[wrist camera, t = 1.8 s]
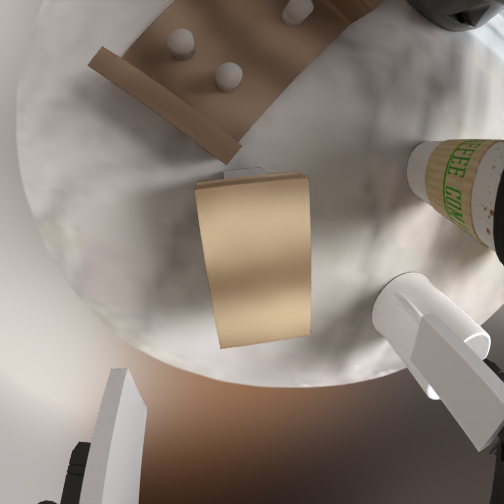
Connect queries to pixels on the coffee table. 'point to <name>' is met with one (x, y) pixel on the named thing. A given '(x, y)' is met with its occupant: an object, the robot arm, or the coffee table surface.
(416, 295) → the mug
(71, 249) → the coffee table surface
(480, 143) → the coffee cup
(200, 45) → the cradle
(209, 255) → the board
